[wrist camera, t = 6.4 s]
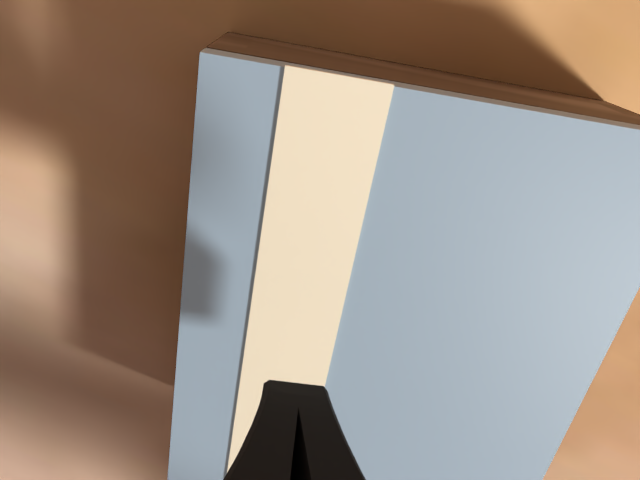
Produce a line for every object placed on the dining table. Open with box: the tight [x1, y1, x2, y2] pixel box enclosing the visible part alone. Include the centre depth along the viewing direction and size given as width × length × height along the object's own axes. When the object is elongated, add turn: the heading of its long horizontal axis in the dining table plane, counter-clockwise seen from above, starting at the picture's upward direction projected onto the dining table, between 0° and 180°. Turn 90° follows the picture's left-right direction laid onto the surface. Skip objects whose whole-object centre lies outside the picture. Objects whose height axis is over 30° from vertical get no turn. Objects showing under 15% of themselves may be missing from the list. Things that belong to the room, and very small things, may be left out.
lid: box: [167, 48, 640, 480], centre depth 15 cm, size 14×12×1 cm
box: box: [207, 32, 640, 125], centre depth 17 cm, size 14×12×4 cm
